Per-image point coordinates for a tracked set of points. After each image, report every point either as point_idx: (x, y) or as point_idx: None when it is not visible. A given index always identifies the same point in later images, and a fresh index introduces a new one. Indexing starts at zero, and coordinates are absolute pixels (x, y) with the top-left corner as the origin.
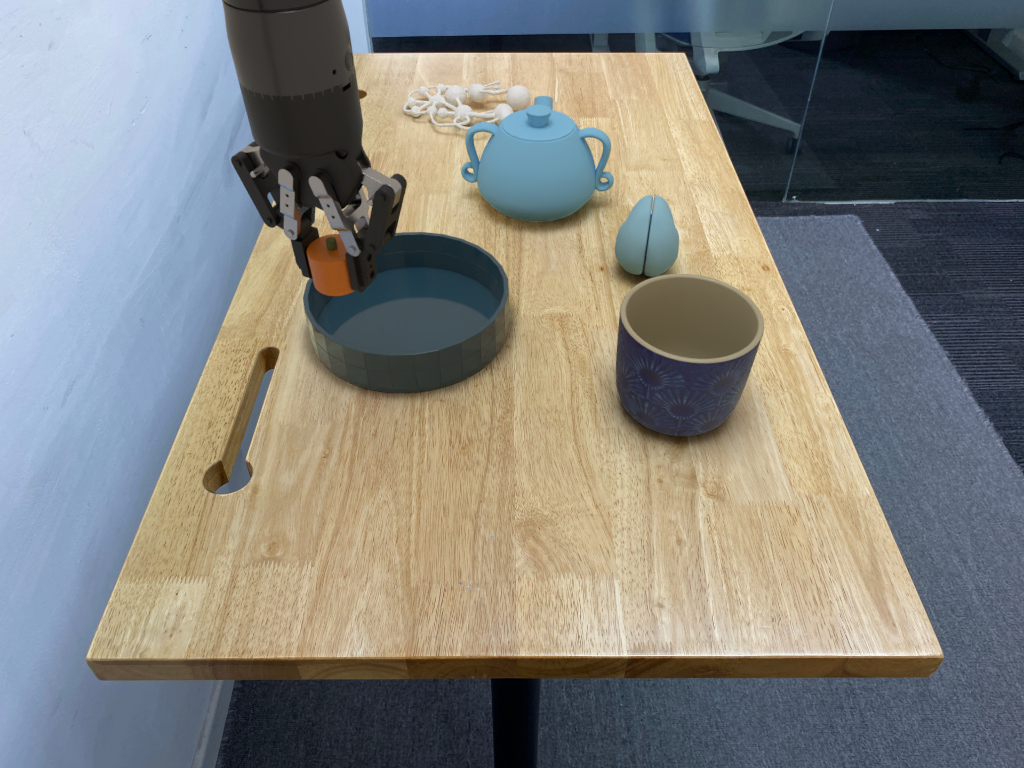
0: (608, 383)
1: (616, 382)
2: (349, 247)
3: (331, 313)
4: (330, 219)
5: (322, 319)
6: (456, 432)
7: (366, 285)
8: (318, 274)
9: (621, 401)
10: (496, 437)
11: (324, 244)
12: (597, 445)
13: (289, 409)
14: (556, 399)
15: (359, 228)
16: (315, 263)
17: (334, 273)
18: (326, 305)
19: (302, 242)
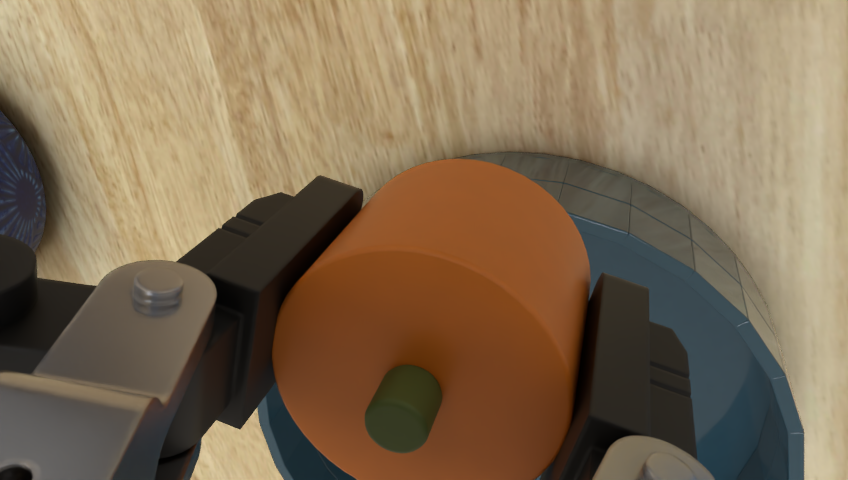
0: (86, 211)
1: (13, 178)
2: (162, 298)
3: (734, 414)
4: (77, 466)
5: (756, 395)
6: (329, 35)
7: (274, 197)
8: (494, 222)
9: (11, 139)
10: (240, 31)
11: (474, 423)
12: (50, 36)
13: (793, 64)
14: (160, 160)
15: (162, 468)
16: (482, 259)
17: (386, 217)
18: (754, 442)
19: (586, 418)
